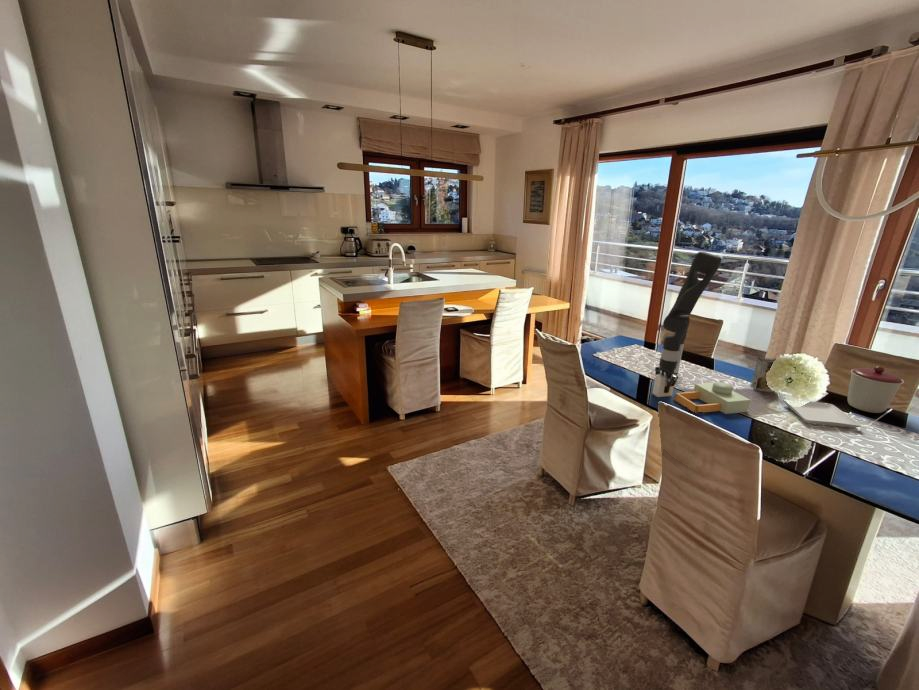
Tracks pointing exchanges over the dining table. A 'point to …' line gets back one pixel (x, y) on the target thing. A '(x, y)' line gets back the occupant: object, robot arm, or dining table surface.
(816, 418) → the salad plate
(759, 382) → the coffee box
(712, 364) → the dining table surface
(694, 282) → the robot arm
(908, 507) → the dining table surface
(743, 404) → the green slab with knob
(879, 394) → the canister
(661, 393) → the white block
